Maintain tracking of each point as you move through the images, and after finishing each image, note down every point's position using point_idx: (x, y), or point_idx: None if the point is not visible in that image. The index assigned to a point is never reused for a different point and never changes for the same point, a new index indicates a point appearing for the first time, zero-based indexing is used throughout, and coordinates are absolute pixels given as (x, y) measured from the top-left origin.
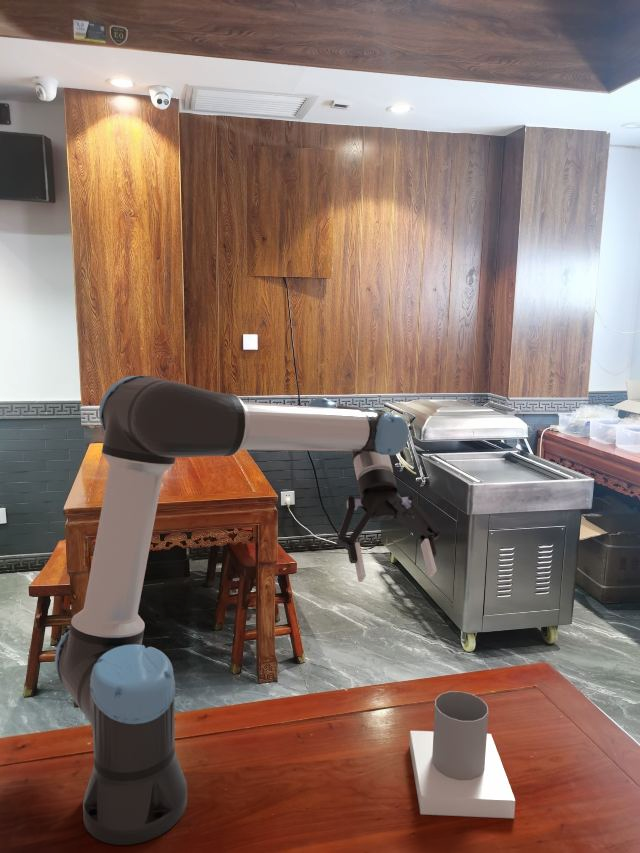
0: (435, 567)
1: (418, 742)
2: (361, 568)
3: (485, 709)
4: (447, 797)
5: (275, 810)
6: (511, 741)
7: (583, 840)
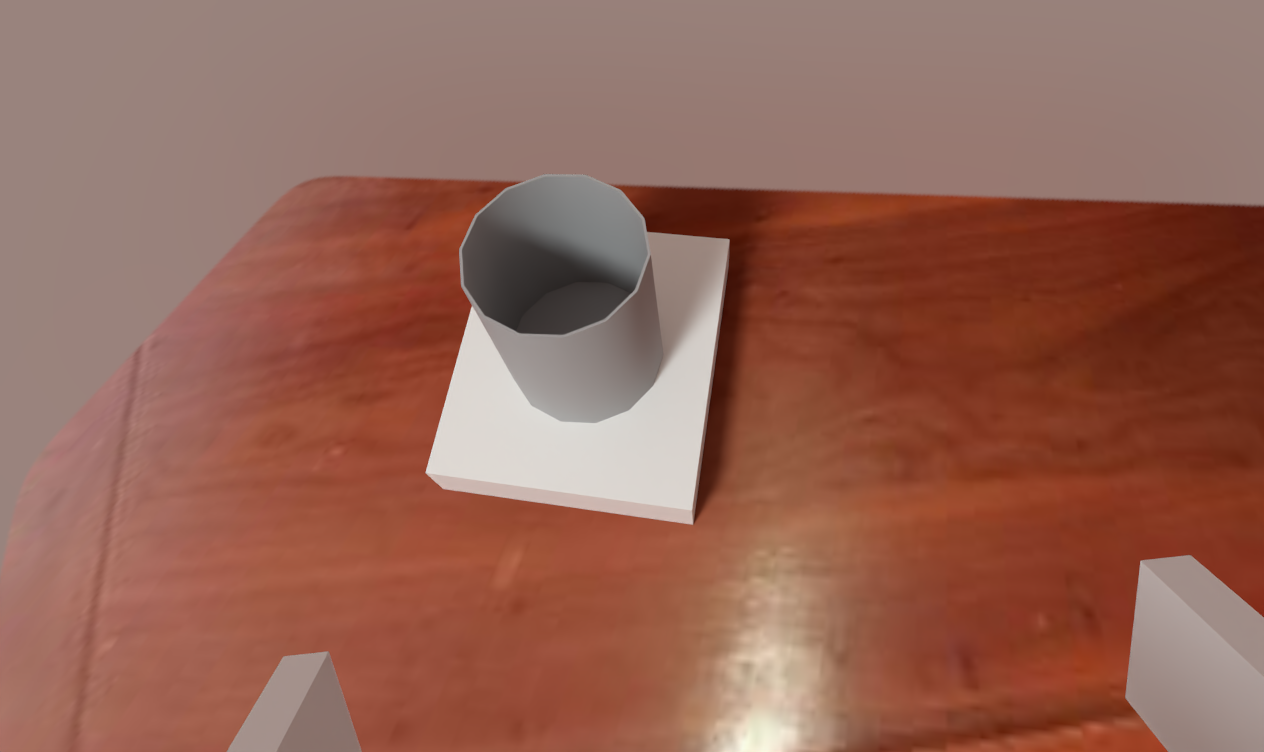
0: (274, 681)
1: (680, 446)
2: (1243, 615)
3: (467, 264)
4: (662, 233)
5: (1114, 296)
6: (355, 522)
7: (391, 188)
